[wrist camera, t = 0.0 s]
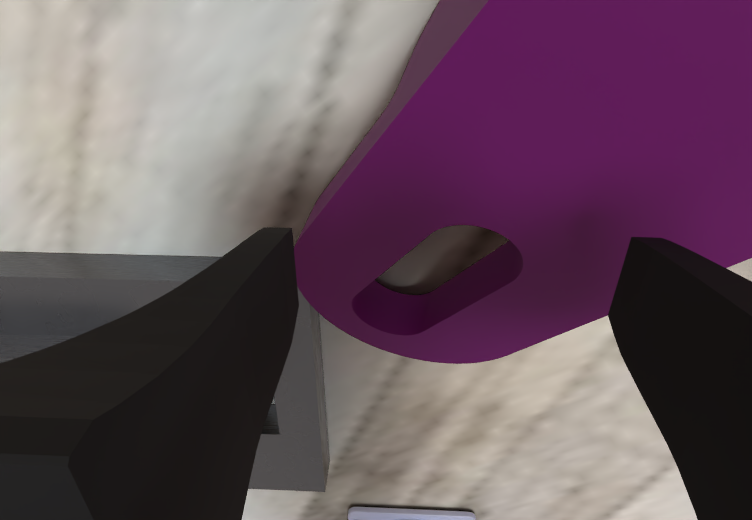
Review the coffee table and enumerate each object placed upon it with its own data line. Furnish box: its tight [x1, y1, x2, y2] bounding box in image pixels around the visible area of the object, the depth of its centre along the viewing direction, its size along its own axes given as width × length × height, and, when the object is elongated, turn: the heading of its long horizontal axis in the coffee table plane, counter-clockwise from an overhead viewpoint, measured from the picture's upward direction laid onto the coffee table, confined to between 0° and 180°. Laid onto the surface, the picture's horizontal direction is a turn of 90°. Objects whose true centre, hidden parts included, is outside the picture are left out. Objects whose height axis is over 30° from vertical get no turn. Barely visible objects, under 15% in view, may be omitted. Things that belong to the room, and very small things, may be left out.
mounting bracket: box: [294, 0, 752, 364], centre depth 18 cm, size 10×8×18 cm
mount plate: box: [0, 252, 330, 492], centre depth 25 cm, size 14×18×4 cm
